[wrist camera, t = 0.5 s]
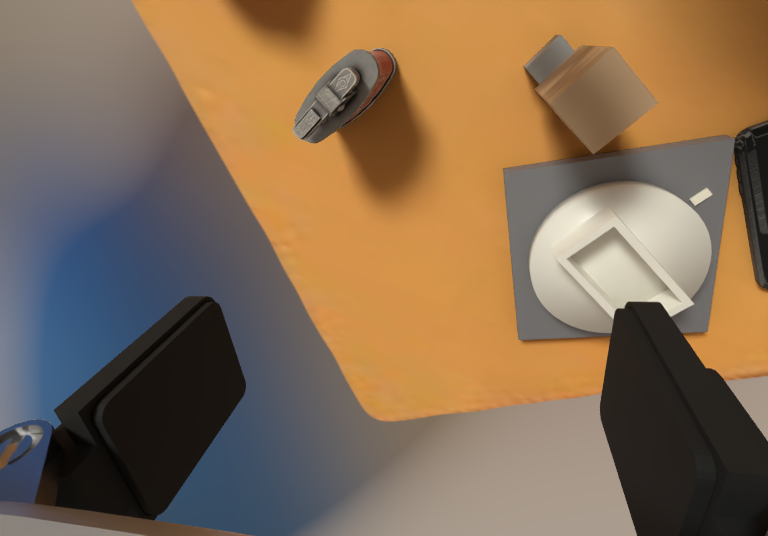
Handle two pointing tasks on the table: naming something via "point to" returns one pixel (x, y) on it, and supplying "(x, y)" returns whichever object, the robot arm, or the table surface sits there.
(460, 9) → the table surface
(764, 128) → the phone
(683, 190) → the dial plate
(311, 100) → the lighter
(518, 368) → the table surface
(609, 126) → the tan block
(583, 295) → the dial
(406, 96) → the table surface
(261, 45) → the table surface
